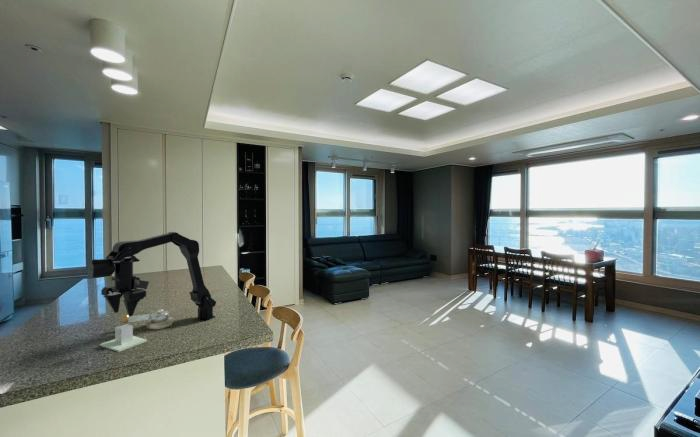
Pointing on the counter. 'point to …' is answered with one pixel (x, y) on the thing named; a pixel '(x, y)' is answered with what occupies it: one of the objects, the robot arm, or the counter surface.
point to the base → (159, 324)
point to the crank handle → (148, 317)
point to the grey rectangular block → (123, 334)
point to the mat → (118, 347)
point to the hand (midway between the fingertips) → (123, 314)
